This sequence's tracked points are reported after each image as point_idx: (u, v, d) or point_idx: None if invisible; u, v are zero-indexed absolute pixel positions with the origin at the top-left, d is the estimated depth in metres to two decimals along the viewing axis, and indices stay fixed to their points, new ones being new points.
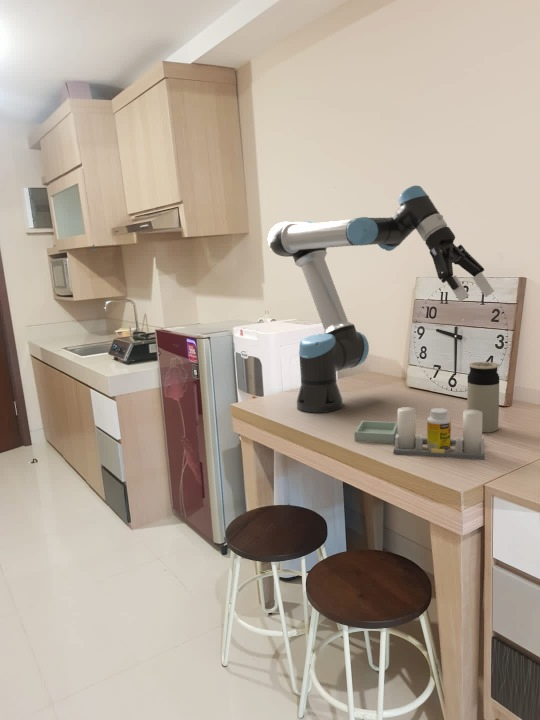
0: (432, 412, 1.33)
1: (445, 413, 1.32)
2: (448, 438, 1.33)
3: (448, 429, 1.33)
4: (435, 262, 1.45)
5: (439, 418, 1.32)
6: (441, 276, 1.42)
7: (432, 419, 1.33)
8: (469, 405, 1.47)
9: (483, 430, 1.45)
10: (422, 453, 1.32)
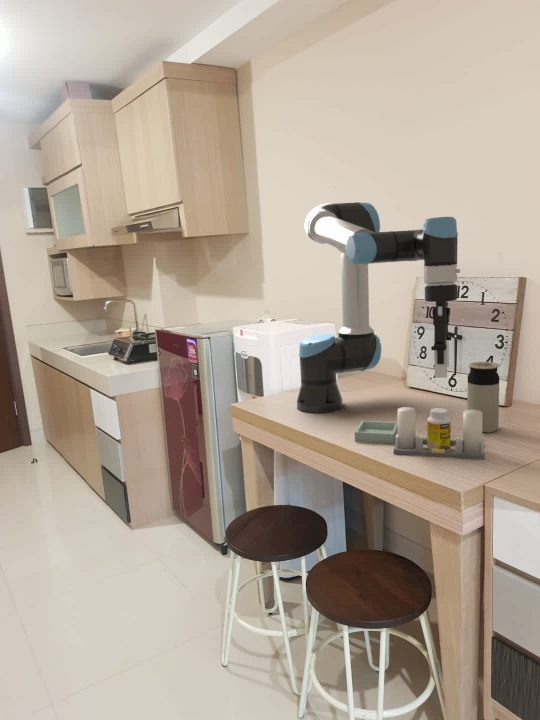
0: (432, 412, 1.33)
1: (445, 413, 1.32)
2: (448, 438, 1.33)
3: (448, 429, 1.33)
4: (436, 325, 1.24)
5: (439, 418, 1.32)
6: (438, 346, 1.22)
7: (432, 419, 1.33)
8: (469, 405, 1.47)
9: (483, 430, 1.45)
10: (422, 453, 1.32)
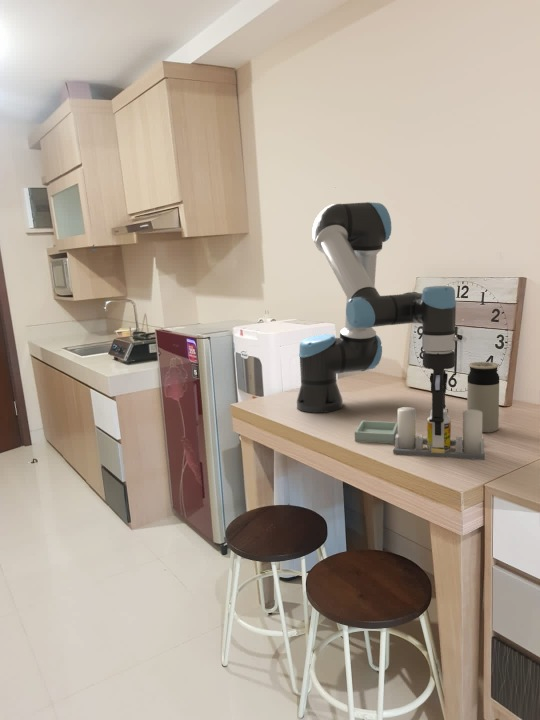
0: None
1: (445, 413, 1.32)
2: (448, 438, 1.33)
3: (448, 429, 1.33)
4: (434, 399, 1.28)
5: None
6: (435, 420, 1.28)
7: None
8: (469, 405, 1.47)
9: (483, 430, 1.45)
10: (422, 453, 1.32)
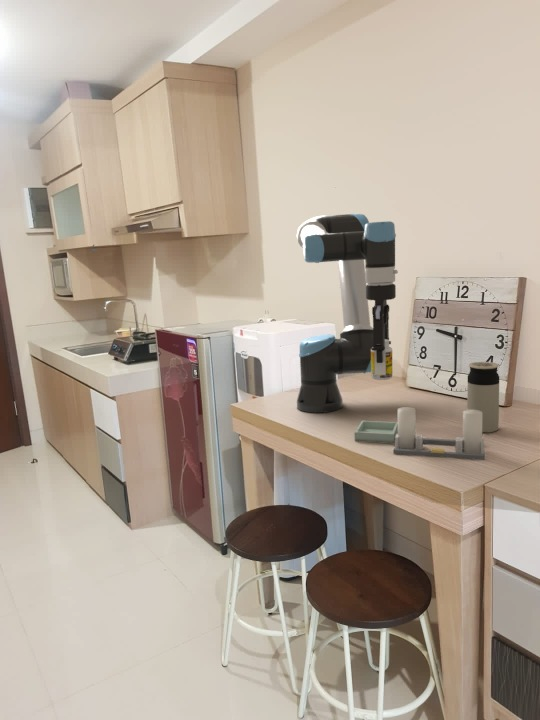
0: None
1: (387, 342, 1.41)
2: (390, 366, 1.42)
3: (389, 357, 1.41)
4: (375, 328, 1.36)
5: None
6: (376, 348, 1.37)
7: None
8: (469, 405, 1.47)
9: (483, 430, 1.45)
10: (422, 453, 1.32)
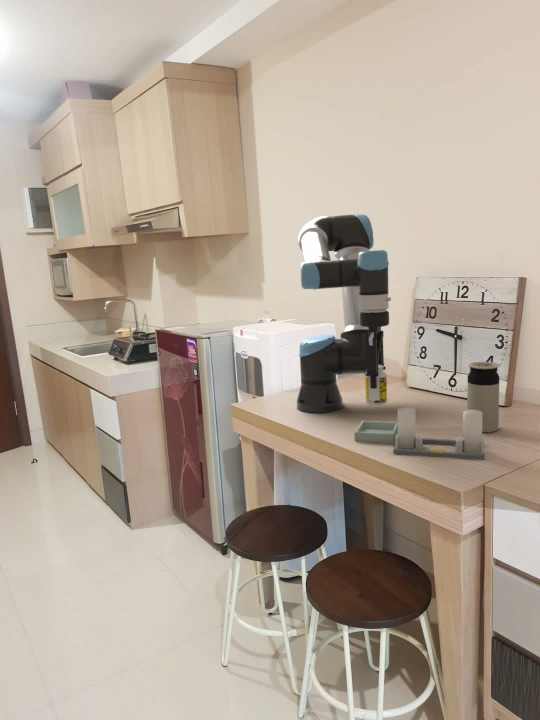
0: None
1: (380, 368, 1.43)
2: (384, 391, 1.44)
3: (383, 383, 1.43)
4: (368, 354, 1.38)
5: None
6: (370, 373, 1.39)
7: None
8: (469, 405, 1.47)
9: (483, 430, 1.45)
10: (422, 453, 1.32)
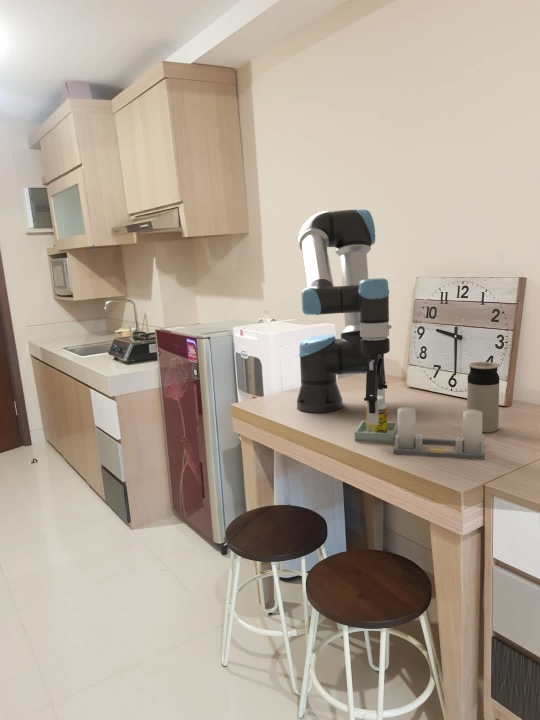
0: None
1: (381, 400, 1.45)
2: (384, 423, 1.46)
3: (384, 414, 1.45)
4: (368, 379, 1.38)
5: None
6: (369, 399, 1.38)
7: None
8: (469, 405, 1.47)
9: (483, 430, 1.45)
10: (422, 453, 1.32)
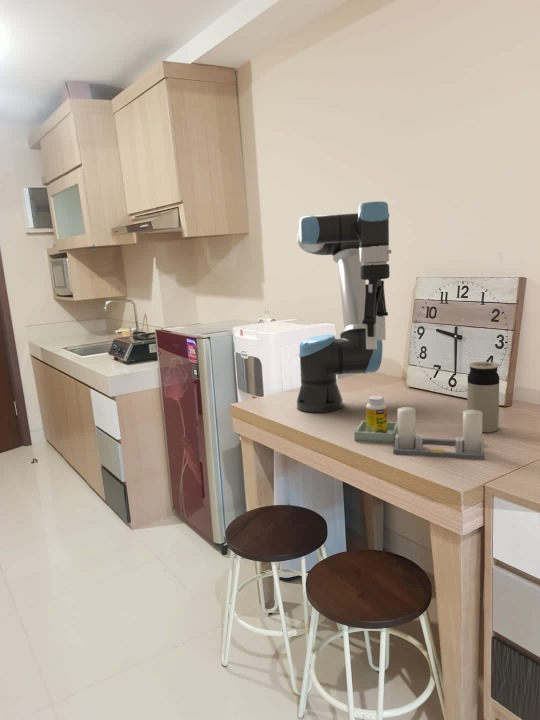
0: (369, 399, 1.46)
1: (381, 400, 1.45)
2: (384, 423, 1.46)
3: (384, 414, 1.45)
4: (366, 301, 1.36)
5: (376, 404, 1.45)
6: (367, 321, 1.35)
7: (369, 405, 1.46)
8: (469, 405, 1.47)
9: (483, 430, 1.45)
10: (422, 453, 1.32)
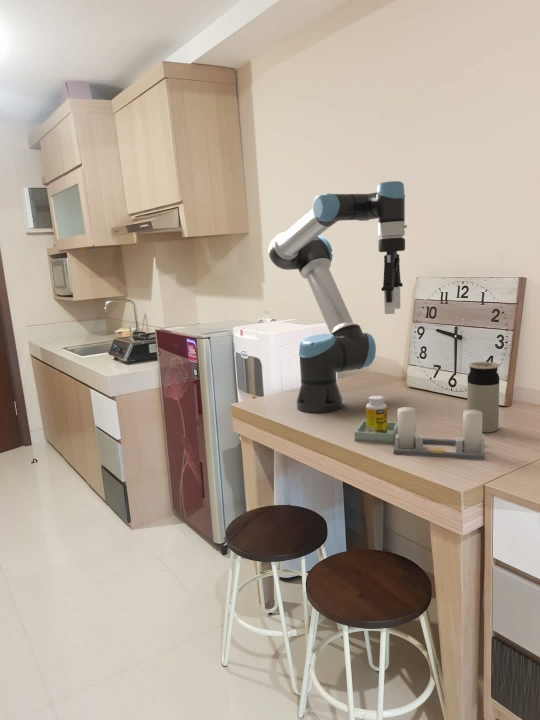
0: (369, 399, 1.46)
1: (381, 400, 1.45)
2: (384, 423, 1.46)
3: (384, 414, 1.45)
4: (385, 269, 1.52)
5: (376, 404, 1.45)
6: (386, 287, 1.51)
7: (369, 405, 1.46)
8: (469, 405, 1.47)
9: (483, 430, 1.45)
10: (422, 453, 1.32)
